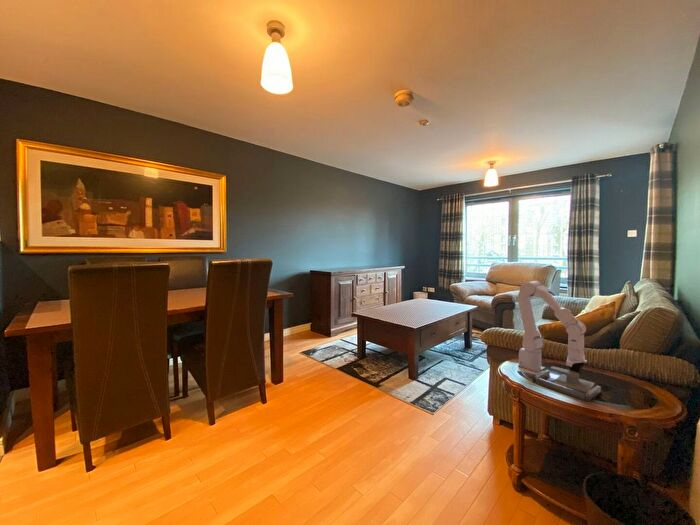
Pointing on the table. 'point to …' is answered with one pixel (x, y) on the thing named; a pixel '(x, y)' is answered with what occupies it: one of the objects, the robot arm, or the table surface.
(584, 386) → the shower valve
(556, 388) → the mounting bracket
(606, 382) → the table surface
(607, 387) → the table surface
